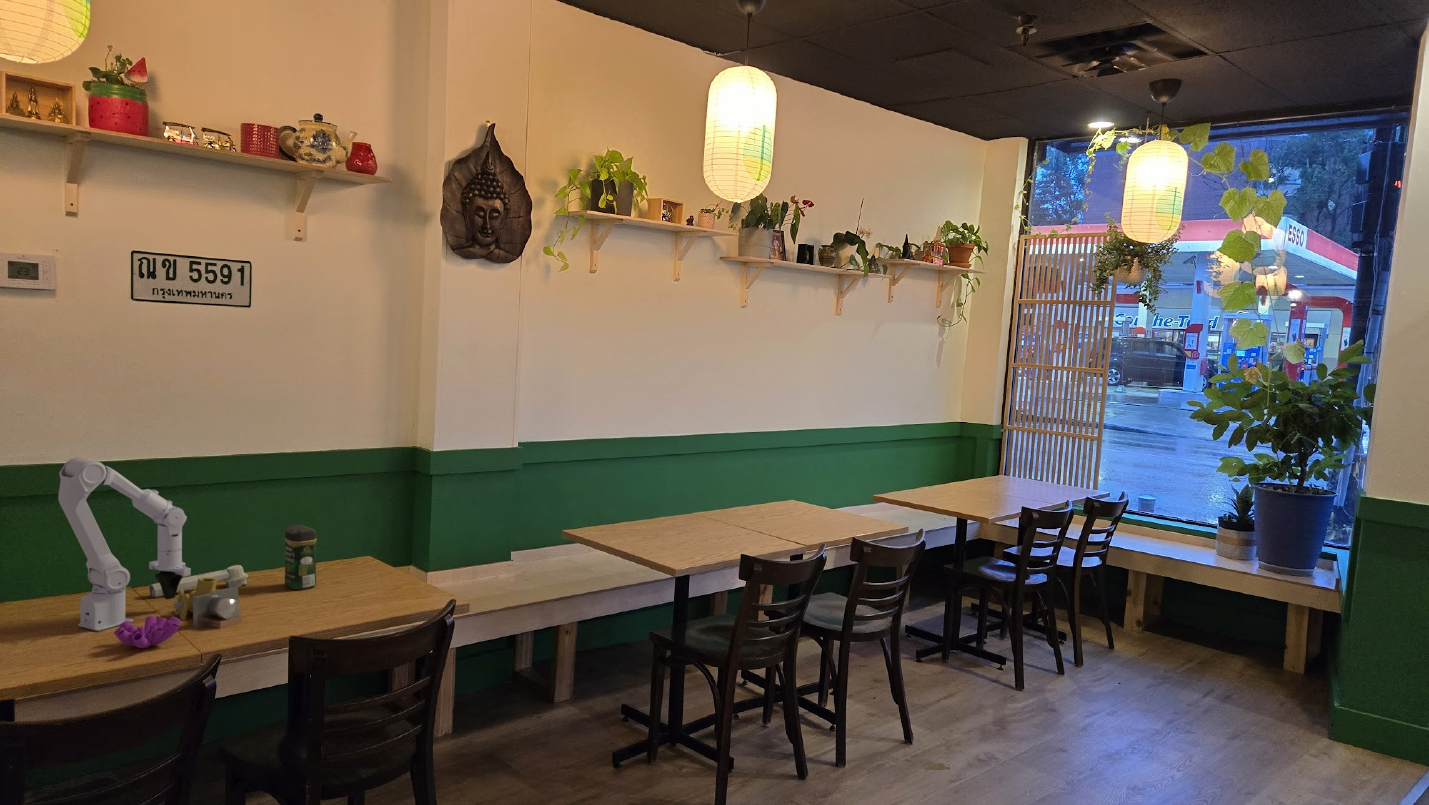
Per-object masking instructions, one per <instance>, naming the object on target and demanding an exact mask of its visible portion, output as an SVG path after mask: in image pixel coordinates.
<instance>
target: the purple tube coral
mask: <svg viewBox="0 0 1429 805" xmlns="http://www.w3.org/2000/svg"><path fill="white" fill-rule="evenodd" d="M181 621H182V620H181V618H178V617H175V616H171V617H170V618H169V619H167V618H165V617H157V616H156V615H148V616H146V617H145V620H144V626H143V625H142V626H139V627H135V625H134V624H132V622H129V621H125V622H123V623H121V624H120V625H118V626H119V627H118V628H117V629H115V630H114V632H113V634H114V635H115V637H116V638H117V639H118V640H119V641H120V642H122V643H123V644H126V645H128V646H133V647H137V648H139V649H147V648H149V647H153V646H155V645H158V644H160V643H162V642H164V641H167V640H169V639H170V638H171V637H173V636H174V635H175V634H176V633H177V631H178V629H179V628H180V627H179V624H180V623H181Z"/></svg>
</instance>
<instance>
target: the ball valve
mask: <svg viewBox="0 0 1429 805" xmlns="http://www.w3.org/2000/svg"><path fill="white" fill-rule="evenodd" d="M217 583H218V582H217V580H216V579H215V578H211V577H201V578H198V582H197V587H196V588H195V589H194V590H192V591H190V592H189V594H188V593H185V591H184V590H183V589H179V592H177V593H178V594H177V600H176V601H174V603H173V604H172V605H173V608H174V609H175V610H174V614H175V616H179V617H180V618H179V619H180V620H181V621H186V620H187V614H188V611H189V612H192V613H193V597H195V596H199V595H203V594H207V593H210V592H214V591H216V589H217Z"/></svg>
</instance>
